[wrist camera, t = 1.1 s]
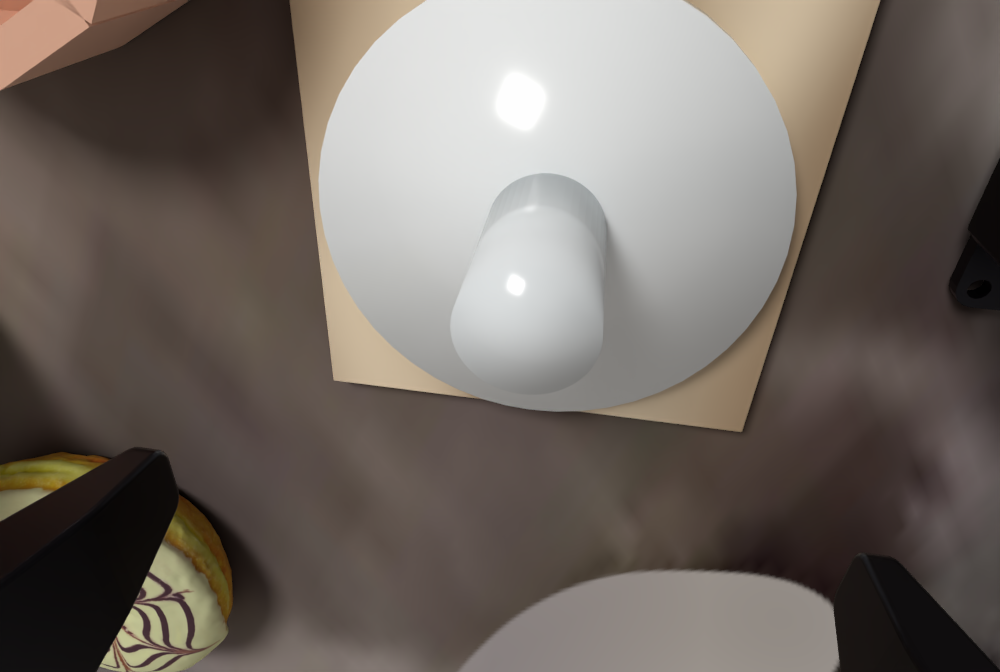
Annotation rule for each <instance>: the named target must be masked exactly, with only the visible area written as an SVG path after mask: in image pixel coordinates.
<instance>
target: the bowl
mask: <svg viewBox="0 0 1000 672" xmlns="http://www.w3.org/2000/svg"><path fill="white" fill-rule="evenodd" d="M188 1H189V0H0V90H3V89H6V88H9V87H11V86H14V85H17V84H20V83H22V82H25V81H28V80H31V79H33V78H36V77H39V76H42V75H44V74H47V73H50V72H53V71H55V70H58V69H61V68H64V67H66V66H69V65H72V64H75V63H77V62H80V61H83V60H86V59H88V58H91V57H94V56H97V55H99V54H102V53H105V52H108V51H110V50H113V49H116V48H119V47H121V46H123V45H125V44H126V43H128V42H129V41H130V40H132V39H133V38H135V37H136V36H138V35H139V34H141V33H142V32H144V31H145V30H147V29H148V28H150V27H151V26H152V25H154V24H155V23H157V22H158V21H160V20H161V19H163V18H164V17H166V16H167V15H169V14H170V13H172V12H173V11H175V10H176V9H177V8H179V7H180V6H182V5H183V4H185V3H186V2H188Z"/></svg>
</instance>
